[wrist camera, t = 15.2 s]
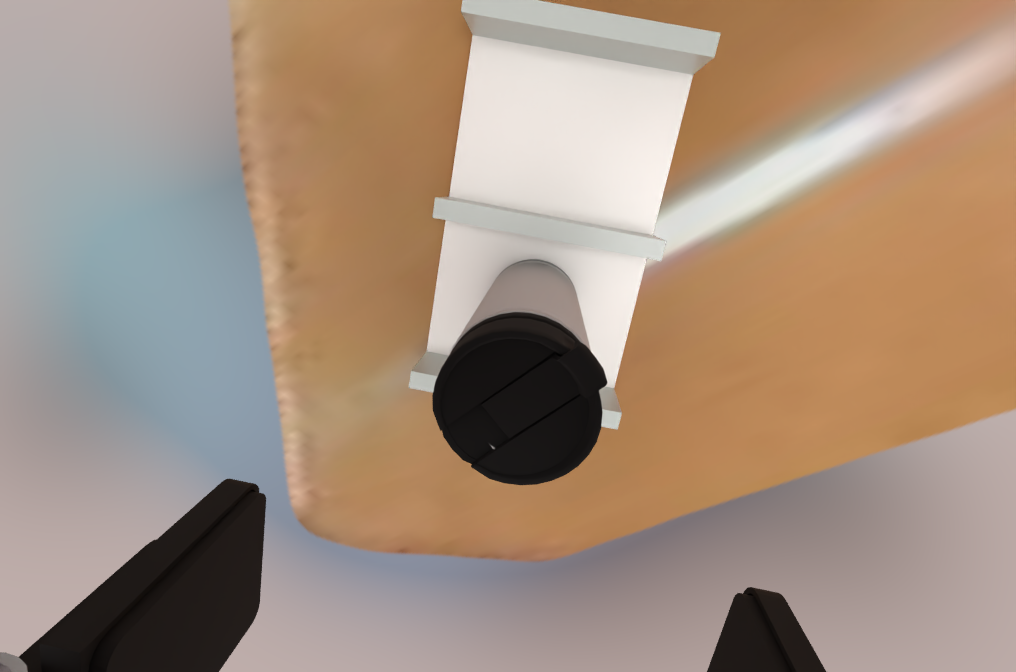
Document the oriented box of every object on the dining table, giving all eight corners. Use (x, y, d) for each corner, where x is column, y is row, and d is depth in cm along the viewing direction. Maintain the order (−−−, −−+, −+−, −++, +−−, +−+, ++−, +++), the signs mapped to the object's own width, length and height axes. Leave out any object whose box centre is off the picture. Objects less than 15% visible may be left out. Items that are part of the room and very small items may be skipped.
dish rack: (478, 21, 35) (464, -13, 29) (692, 59, 34) (720, 32, 29) (428, 360, 41) (408, 387, 35) (608, 395, 41) (617, 429, 35)
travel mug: (599, 309, 37) (650, 433, 18) (524, 361, 39) (497, 528, 20) (546, 237, 36) (541, 288, 17) (471, 294, 38) (389, 399, 19)
